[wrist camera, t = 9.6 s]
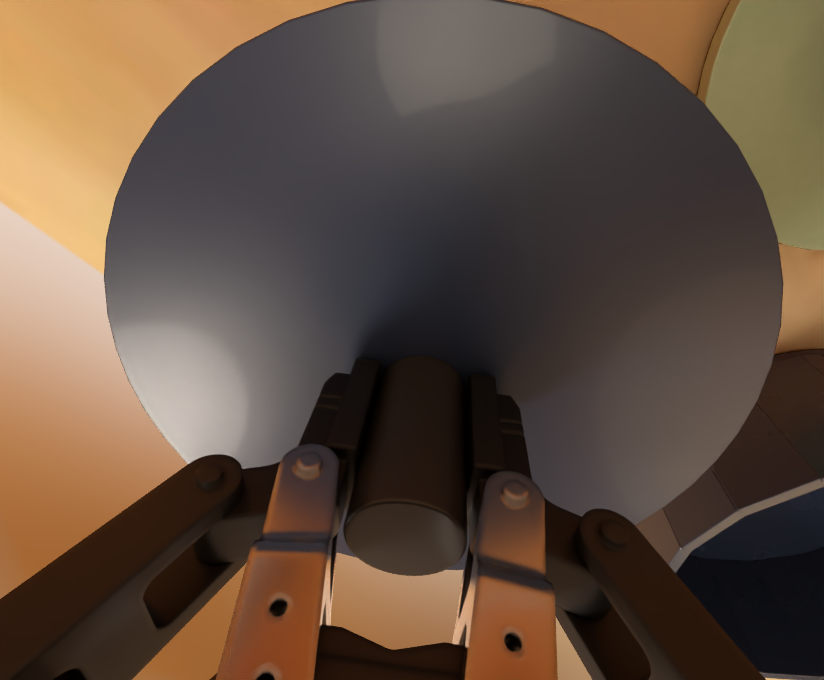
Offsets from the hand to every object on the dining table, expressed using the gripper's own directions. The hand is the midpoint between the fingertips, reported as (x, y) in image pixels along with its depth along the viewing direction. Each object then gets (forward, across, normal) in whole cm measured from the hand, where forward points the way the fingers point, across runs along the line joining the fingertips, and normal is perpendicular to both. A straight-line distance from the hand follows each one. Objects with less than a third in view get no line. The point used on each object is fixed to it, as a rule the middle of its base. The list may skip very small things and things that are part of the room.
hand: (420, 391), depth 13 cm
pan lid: (+1, 0, 0) cm, 1 cm away
